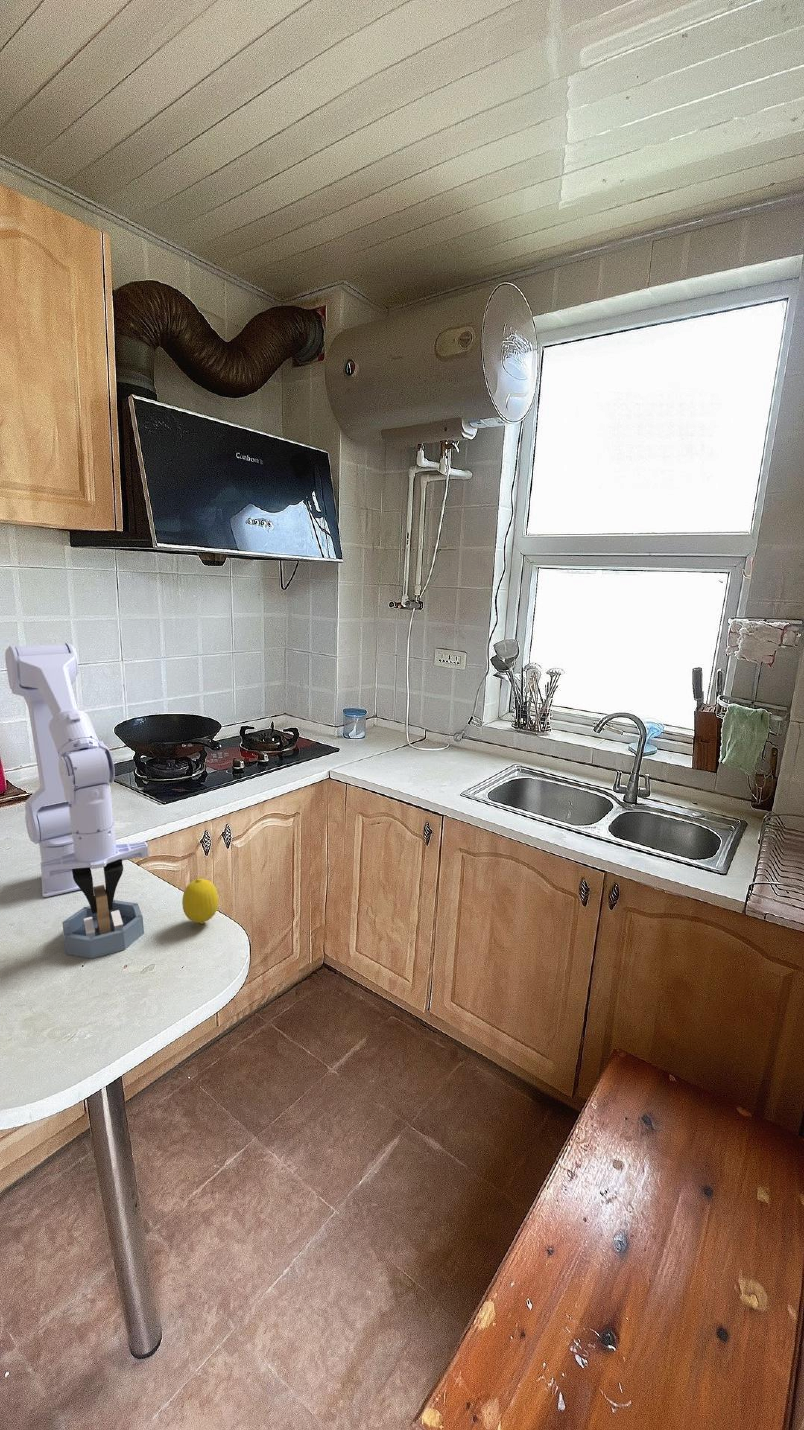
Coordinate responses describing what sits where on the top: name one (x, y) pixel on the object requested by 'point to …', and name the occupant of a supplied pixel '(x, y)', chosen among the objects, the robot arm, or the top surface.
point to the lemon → (200, 900)
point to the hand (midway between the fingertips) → (101, 908)
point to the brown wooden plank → (102, 910)
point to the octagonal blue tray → (90, 944)
